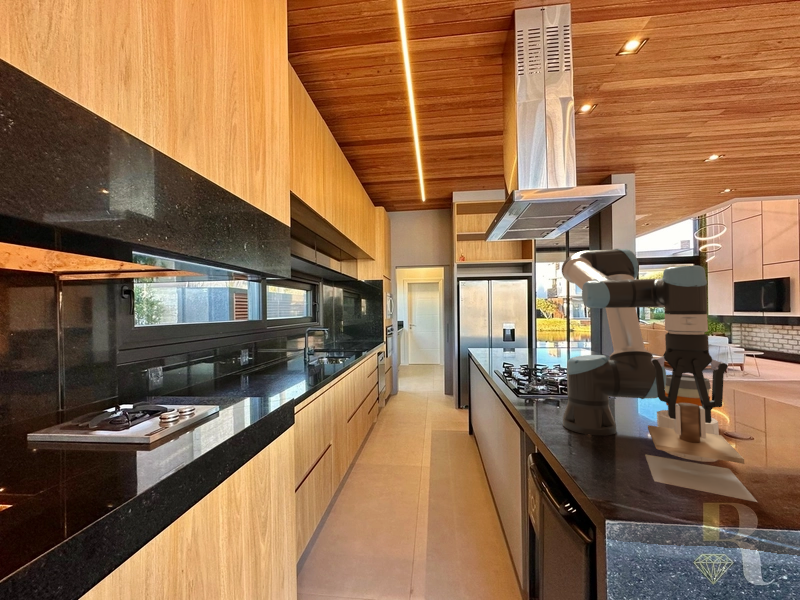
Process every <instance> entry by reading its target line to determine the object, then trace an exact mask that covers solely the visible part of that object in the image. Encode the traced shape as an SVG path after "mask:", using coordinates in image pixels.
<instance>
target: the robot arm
mask: <svg viewBox="0 0 800 600" xmlns="http://www.w3.org/2000/svg"><path fill="white" fill-rule="evenodd" d="M561 274H562V277H563V278H564V279H565V280H566V281H567V282H569V283H571V284H575V285H576V286H577V287H578V288H579V289H580V290H581V299H582V303H583V305H584V306H585V307H586V308H592V309H593V308H595V309H598V310H599V309H605V312H606V316H607V322H608V327H609V328H608V329H609V333H610V338H611V342H612V348H613V352H612V353H611V354H610V355H609V358H608V357H607V356H606V355H603V354H588V355H587V354H585V355H579V356H578V355H577V356H574V357H570V358H569V359H568V360H567V362H566V379H567V380H566V382H567V383H566V385H567V404H566V407H565V409H564V413H563V416H562V426H563V427H565V429H567V430H569V431H572V432H575V433H578V434H582V435H591V436H612V435H615V434H617V423H616V422H615V418H614V416H613V413H612V411H611V408H610V404H609V403H610V401H609V399H610V398H628V399H629V398H630V399H641V400H645V399H657V398H658V399H659V400H660V401H661V402H662V403H663V402H664V403H665V404H666V403H668V405H667V410H668V415H669V417H670V418H672V419H674V431H675V432H676V434H677V435H681V421H680V406H679V405H678V404H676V400H677V395H678V390H679V385H680V380H681V377H682V375H683V374H692V376H694V379H695V382H696V386H697V390H698V393H699V397H700V401H701V404H702V406H699V416H700V437H701V438H704V439H706V427H705V423H711V417H712V409H715V408H722V407H723V398H724V397H723V396H724V378H725V377H724V375H725V373H726V371H727V369H728V366H729V365H728V364H727V363H726V362H723V361H719V360H715V359H714V358H713V357H712V356H711V355H710V351H709V349H710V348H709V346H710V345H709V335H708V334H706V333H707V332H708V331H709V325H708V293H707V289H708V288H707V286H708V285H707V284H708V280H707V278H706V277H707V276H706V270H705V268H704V267H703V266H701V265H679V266H672V267H671V266H670V267H666V268H665V269H664V270H663V273H662V278H642V279H641V278H640V279H637V277H638V275H639V261H638V259H637V256H636V254H635V253H634V251H632V250H630V249H627V248H613V249H597V250H582V251H578V252H575V253H573V254H571V255H570V256H568V257H567V258H566V259H565V260H564V261H563V263H562V265H561ZM637 308H655V309H656V308H660V309H662V308H664V330H665V331H667V333H665V335H664V336H665V338H664V340H665V341H664V342H665V351H664V353H663V354H662V355H663V356H660V357H656V358H655V357H654V355H653V353H652V352H650V351H649V350H647V349H646V348H645V344H644V338H643V334H642V330H641V325H640V321H639V317H638V313H637ZM665 362H666V363H667V364H668V365H669V366H670V367H671V368H672V373H671V375H672V379H671V383H670V388H669V393H668V397H667V396H665V386H666V375H667V371H666V368H665ZM709 365H710V367H711V369H712V386H711V390H712V391H711V399H710V400H709V396H710V395H709V396H708V392H707V389H706V385H705V381H704V378H705V376H704V373H703V371H704V370H705V369H706V368H708V366H709Z"/></svg>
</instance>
